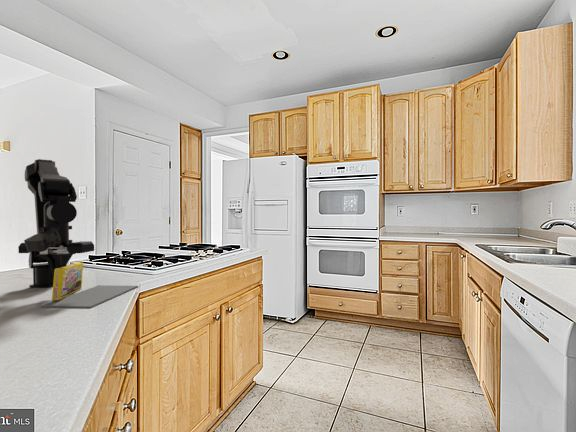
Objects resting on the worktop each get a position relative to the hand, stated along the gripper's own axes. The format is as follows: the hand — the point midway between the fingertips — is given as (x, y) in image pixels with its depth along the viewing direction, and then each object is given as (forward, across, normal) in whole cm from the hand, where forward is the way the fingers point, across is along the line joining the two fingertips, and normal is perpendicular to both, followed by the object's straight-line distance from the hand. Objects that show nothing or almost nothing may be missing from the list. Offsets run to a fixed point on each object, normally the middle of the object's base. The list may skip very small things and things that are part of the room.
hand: (57, 277), depth 93 cm
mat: (+5, +11, 0) cm, 12 cm away
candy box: (+5, +3, 0) cm, 6 cm away
